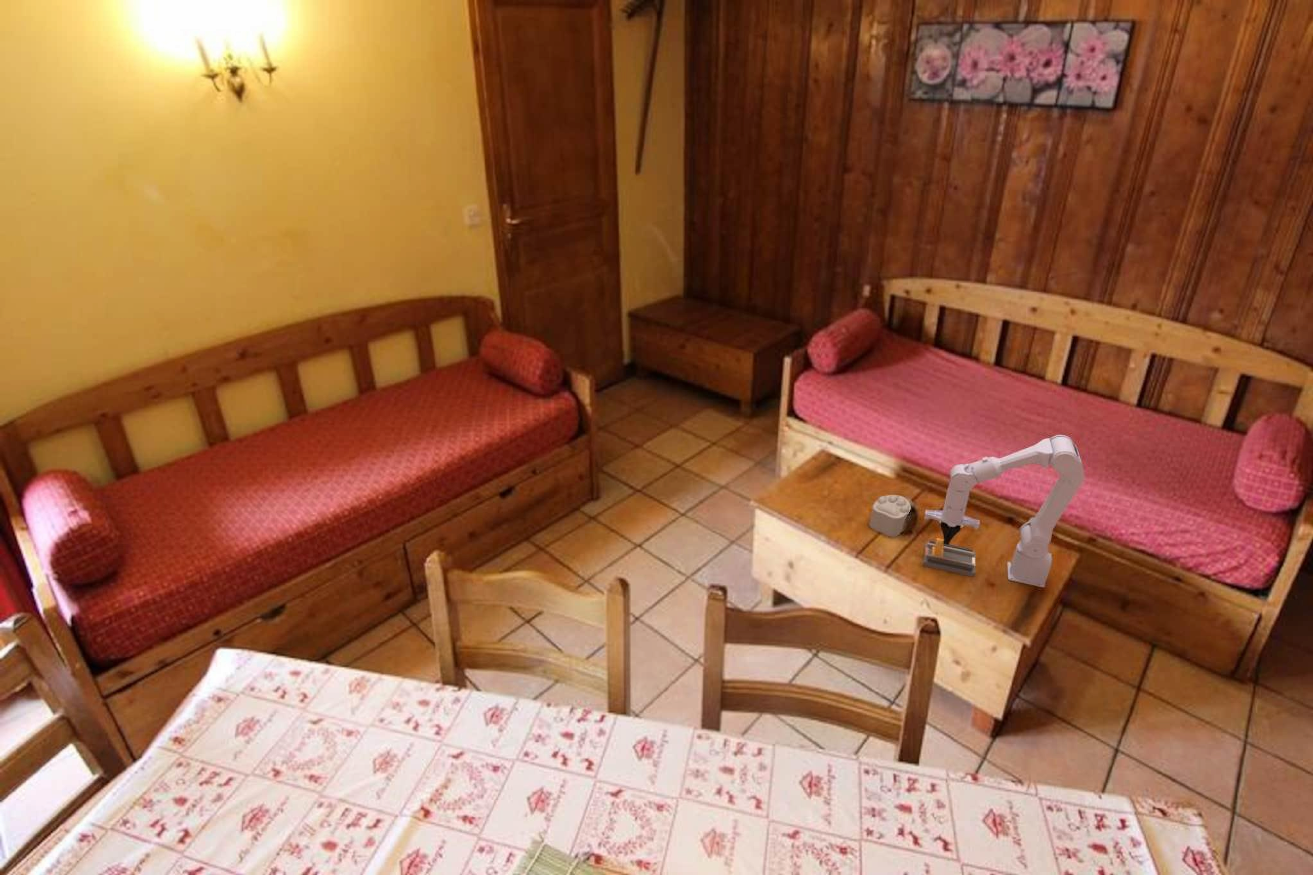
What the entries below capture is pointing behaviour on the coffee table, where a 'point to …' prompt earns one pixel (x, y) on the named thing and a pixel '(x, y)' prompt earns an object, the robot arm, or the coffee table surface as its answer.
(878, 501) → the lumpy-topped squat cylinder
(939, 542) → the breaker lever
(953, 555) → the breaker panel
